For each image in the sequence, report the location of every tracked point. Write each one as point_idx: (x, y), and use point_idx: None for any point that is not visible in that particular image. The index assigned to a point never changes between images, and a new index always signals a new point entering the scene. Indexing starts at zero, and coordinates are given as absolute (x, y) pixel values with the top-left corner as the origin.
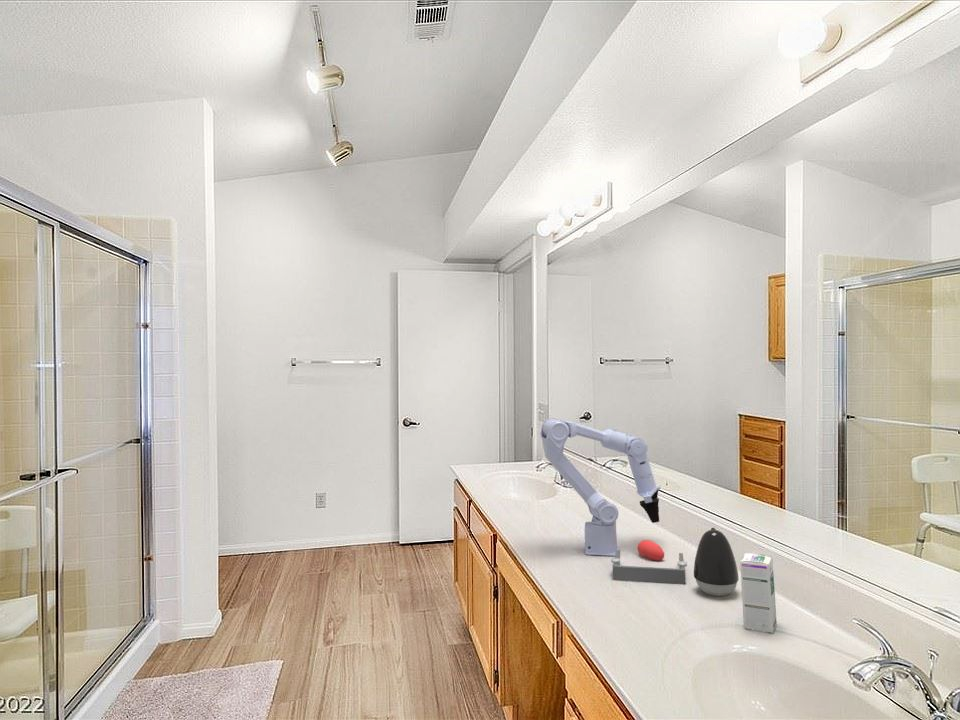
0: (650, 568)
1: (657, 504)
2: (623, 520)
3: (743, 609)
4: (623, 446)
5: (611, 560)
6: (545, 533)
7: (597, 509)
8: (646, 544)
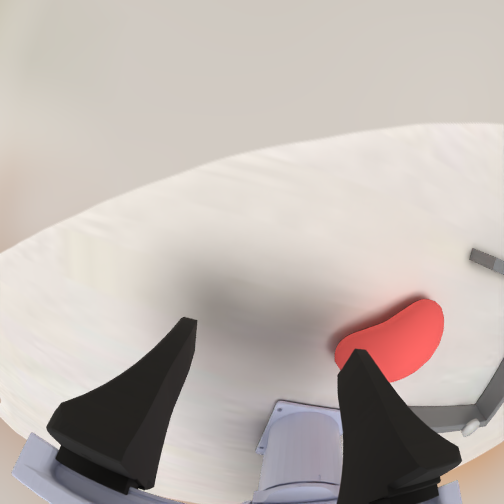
0: None
1: (444, 442)
2: (27, 298)
3: None
4: None
5: (468, 434)
6: None
7: None
8: (416, 370)
